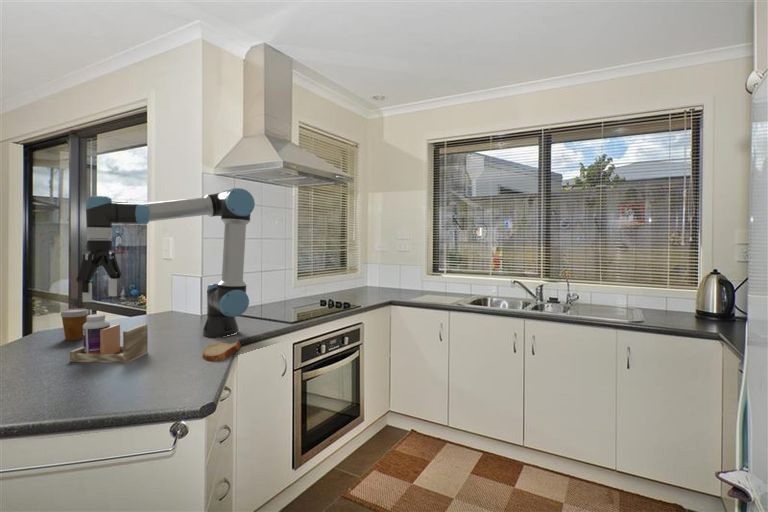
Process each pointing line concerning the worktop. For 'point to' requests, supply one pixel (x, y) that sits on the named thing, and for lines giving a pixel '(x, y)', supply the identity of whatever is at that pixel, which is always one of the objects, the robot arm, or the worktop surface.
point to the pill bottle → (93, 333)
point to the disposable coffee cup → (74, 323)
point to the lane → (131, 349)
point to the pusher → (110, 339)
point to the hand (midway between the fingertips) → (100, 298)
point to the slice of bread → (220, 351)
